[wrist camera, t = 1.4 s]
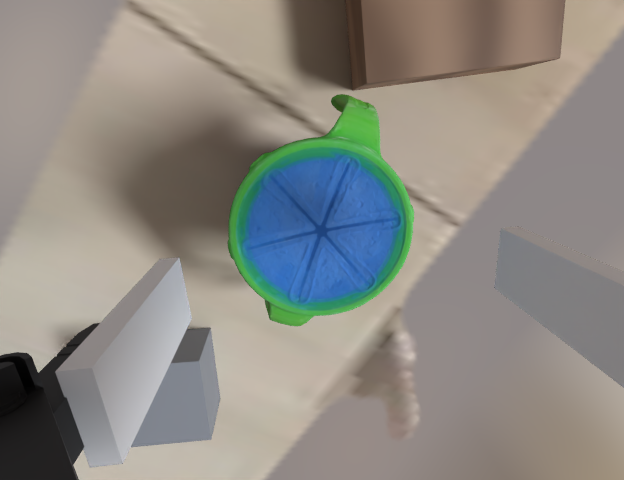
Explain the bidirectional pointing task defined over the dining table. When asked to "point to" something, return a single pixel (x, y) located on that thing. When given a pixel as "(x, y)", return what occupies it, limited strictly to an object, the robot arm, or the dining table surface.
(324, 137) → the snack cup
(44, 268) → the dining table surface
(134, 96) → the dining table surface
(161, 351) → the robot arm
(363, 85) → the walnut block
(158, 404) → the slate block
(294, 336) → the dining table surface
